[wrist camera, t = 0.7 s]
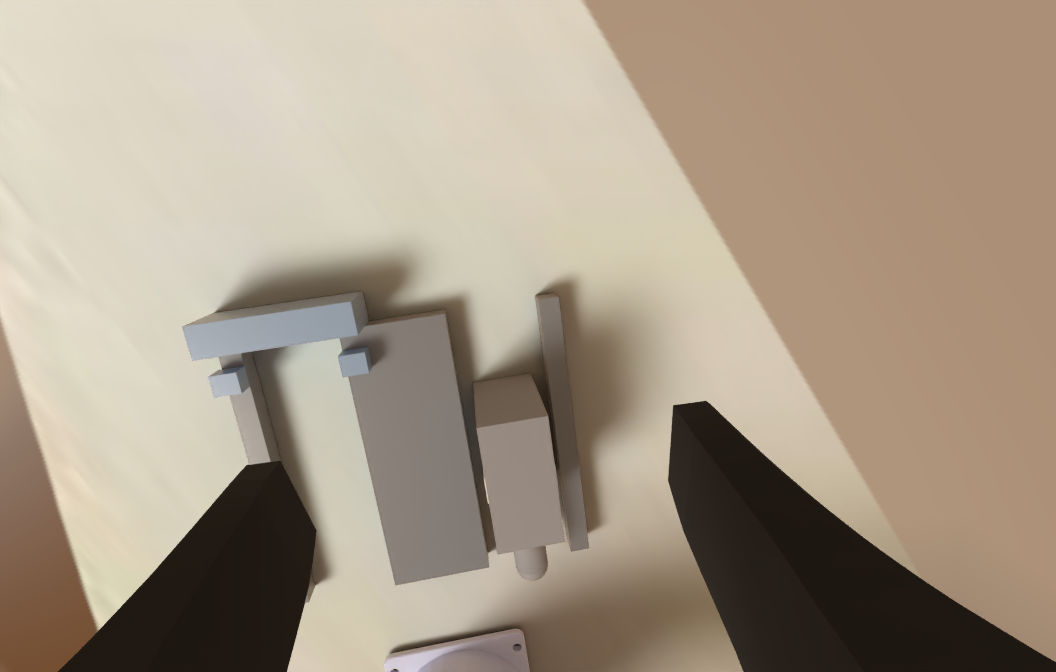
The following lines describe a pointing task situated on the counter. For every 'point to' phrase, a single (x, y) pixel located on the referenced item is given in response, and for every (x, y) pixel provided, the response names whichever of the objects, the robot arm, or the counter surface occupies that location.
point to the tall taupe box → (518, 470)
